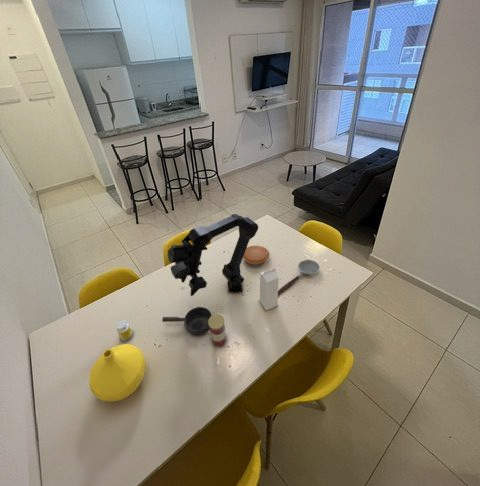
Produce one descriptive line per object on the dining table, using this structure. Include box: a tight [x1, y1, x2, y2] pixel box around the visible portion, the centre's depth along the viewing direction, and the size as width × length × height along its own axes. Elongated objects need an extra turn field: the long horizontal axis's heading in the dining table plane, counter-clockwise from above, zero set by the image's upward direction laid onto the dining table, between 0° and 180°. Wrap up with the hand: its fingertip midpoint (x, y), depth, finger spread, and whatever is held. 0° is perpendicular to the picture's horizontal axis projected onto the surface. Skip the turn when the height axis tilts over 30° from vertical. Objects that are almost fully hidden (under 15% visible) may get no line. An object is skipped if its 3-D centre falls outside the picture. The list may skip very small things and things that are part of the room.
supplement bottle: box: [115, 319, 133, 342], centre depth 108 cm, size 5×5×8 cm
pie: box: [242, 245, 270, 267], centre depth 146 cm, size 16×16×5 cm
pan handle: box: [162, 316, 185, 323], centre depth 112 cm, size 10×2×2 cm, turn 89°
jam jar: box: [208, 313, 227, 347], centre depth 104 cm, size 6×6×13 cm
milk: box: [259, 267, 280, 311], centre depth 115 cm, size 6×6×22 cm
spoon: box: [278, 259, 320, 296], centre depth 132 cm, size 11×33×3 cm, turn 129°
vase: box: [89, 343, 147, 402], centre depth 90 cm, size 18×18×19 cm
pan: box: [183, 306, 213, 337], centre depth 113 cm, size 12×12×4 cm
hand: (187, 288), depth 111 cm, fingers open, 9 cm apart
